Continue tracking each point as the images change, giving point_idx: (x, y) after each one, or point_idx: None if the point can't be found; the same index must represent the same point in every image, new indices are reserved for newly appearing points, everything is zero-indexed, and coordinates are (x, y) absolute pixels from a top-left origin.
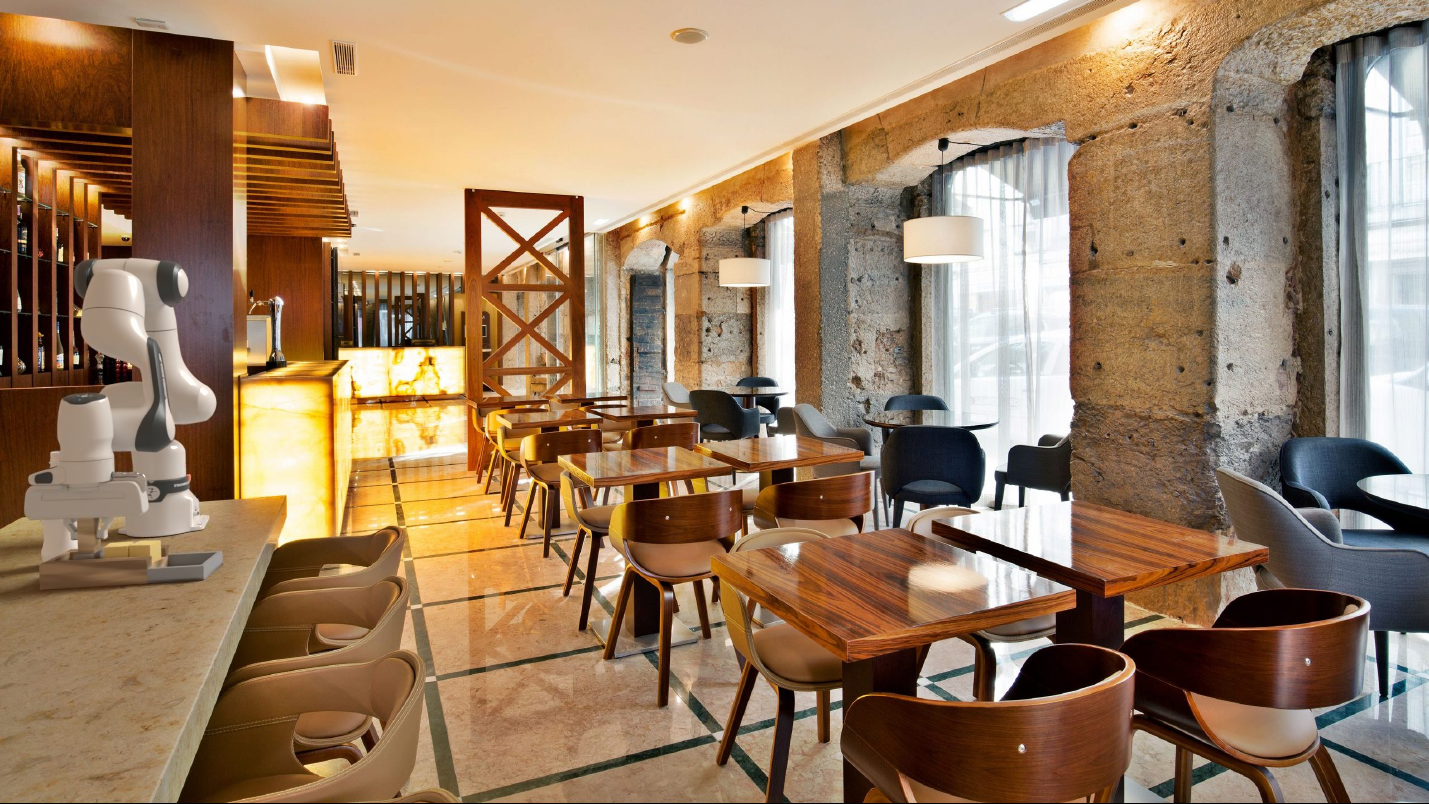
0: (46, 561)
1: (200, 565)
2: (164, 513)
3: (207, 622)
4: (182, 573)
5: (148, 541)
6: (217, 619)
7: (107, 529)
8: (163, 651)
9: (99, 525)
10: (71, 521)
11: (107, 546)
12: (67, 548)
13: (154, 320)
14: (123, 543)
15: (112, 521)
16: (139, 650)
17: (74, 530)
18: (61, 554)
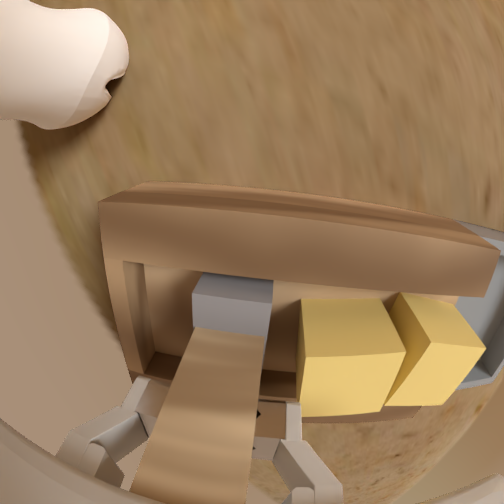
0: (129, 370)
1: (490, 379)
2: None
3: (420, 472)
4: None
5: (452, 361)
6: (429, 467)
7: (301, 438)
8: (378, 497)
9: (251, 456)
10: (120, 483)
11: (308, 407)
12: (68, 109)
13: None
14: (366, 377)
15: (334, 486)
16: (363, 498)
17: (140, 436)
18: (113, 293)
